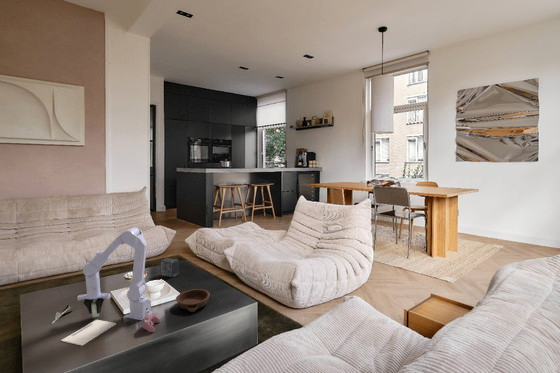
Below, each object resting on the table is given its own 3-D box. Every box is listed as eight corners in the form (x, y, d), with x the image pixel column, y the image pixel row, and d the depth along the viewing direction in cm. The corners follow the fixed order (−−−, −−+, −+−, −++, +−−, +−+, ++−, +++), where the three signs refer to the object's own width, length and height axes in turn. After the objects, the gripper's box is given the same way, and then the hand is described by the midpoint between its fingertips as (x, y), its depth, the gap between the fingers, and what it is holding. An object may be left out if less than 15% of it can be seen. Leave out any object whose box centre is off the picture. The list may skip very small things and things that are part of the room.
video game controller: (153, 325, 152) (145, 313, 151) (161, 320, 152) (154, 308, 151) (146, 336, 142) (138, 324, 141) (155, 332, 142) (147, 319, 141)
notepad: (116, 324, 150) (116, 323, 150) (82, 345, 133) (81, 344, 133) (96, 320, 154) (96, 319, 154) (61, 341, 137) (61, 340, 137)
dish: (173, 316, 157) (173, 307, 156) (178, 297, 178) (178, 288, 178) (209, 312, 160) (209, 303, 160) (210, 294, 182) (210, 285, 181)
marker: (100, 316, 158) (99, 301, 157) (95, 319, 155) (94, 303, 154) (95, 315, 159) (94, 300, 158) (90, 318, 156) (89, 303, 155)
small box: (180, 274, 213) (179, 259, 212) (173, 278, 207) (172, 262, 206) (167, 272, 217) (167, 257, 216) (160, 275, 211) (159, 260, 210)
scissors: (42, 326, 150) (41, 321, 150) (64, 305, 171) (64, 301, 171) (60, 324, 152) (59, 320, 151) (80, 304, 172) (79, 300, 172)
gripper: (112, 282, 160) (114, 308, 161) (82, 283, 159) (84, 309, 160) (105, 288, 153) (107, 315, 154) (74, 289, 152) (76, 316, 153)
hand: (95, 312), depth 157 cm, fingers closed on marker, 3 cm apart
